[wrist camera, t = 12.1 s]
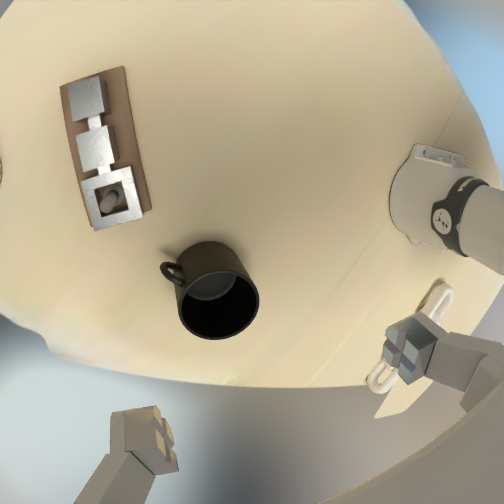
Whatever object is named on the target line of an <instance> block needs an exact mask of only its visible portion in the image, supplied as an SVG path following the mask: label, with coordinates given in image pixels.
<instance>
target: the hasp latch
mask: <svg viewBox="0 0 504 504" xmlns="http://www.w3.org/2000/svg"><path fill="white" fill-rule="evenodd" d="M68 94H69V101H70V108H71V114H72V120H73V122H79V123H85V122H88V125H89V130H90V131H88V132H85V133H82V134H79V135H76V141H77V145H78V150H79V155H80V159H81V164H82V168H83V172H86V171H89V170H92V169H95V168H98V172H99V174H97V175H94V176H91V177H88V178H85V179H83V180H82V181H81V186H82V190H83V193H84V197H85V200H86V204H87V207H88V211H89V214H90V218H91V221H92V224H93V227H94V230H95V231H98V230H101V229H104V228H108V227H111V226H115V225H118V224H122V223H125V222H129V221H132V220H136V219H140V218H143V214H144V210H143V207H142V203H141V199H140V195H139V191H138V187H137V182H136V178H135V174H134V170H133V165H132V164H131V165H127V166H124V167H120V168H117V169H113V166H112V163H115V162H116V161H118V160H119V159H120V155H119V150H118V146H117V141H116V136H115V131H114V126H108V125H106V126H104V122H103V116H106V115H110V114H111V109H110V103H109V97H108V90H107V83H106V82H105V81H104V80H103V79H102V78H101V77H100V76H97V77H93V78H90V79H87V80H85V81H82V82H79V83H76V84H73V85H71V86H68ZM119 181H122V184H123V188H124V192H125V196H126V200H127V204H128V206H125V207H121V208H118V209H114V210H111V211H110V212H109V213H104V212H102V211H101V210H100V203H101V201H102V199H101V196H100V192H99V187H103V186H106V185H109V184H112V183H116V182H119Z"/></svg>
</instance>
